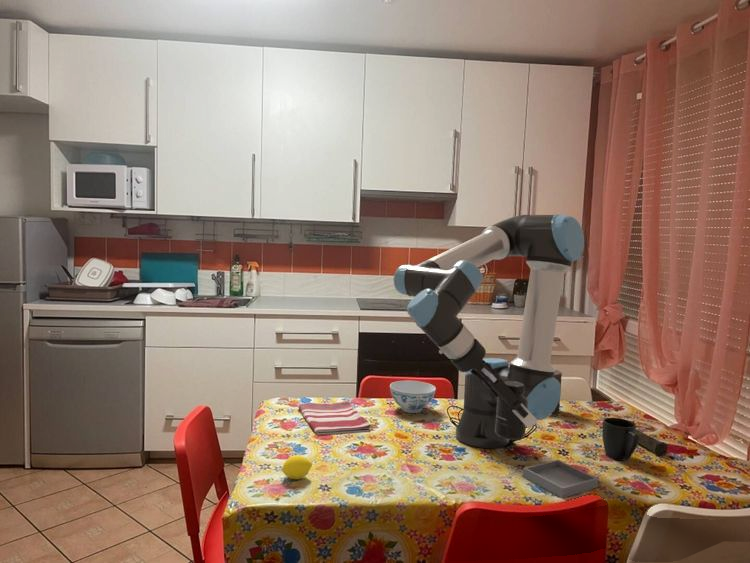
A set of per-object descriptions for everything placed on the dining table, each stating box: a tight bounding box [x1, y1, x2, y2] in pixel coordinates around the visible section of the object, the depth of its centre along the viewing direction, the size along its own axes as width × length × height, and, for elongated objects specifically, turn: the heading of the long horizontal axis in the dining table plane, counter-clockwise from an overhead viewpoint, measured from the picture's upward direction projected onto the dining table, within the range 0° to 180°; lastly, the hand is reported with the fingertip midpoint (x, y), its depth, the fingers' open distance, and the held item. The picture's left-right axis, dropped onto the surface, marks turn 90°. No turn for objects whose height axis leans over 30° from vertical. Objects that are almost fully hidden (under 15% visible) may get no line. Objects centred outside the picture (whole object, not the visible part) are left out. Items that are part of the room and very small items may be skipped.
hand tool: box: [636, 428, 669, 457], centre depth 166 cm, size 19×4×5 cm, turn 11°
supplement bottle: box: [495, 381, 528, 441], centre depth 130 cm, size 7×7×12 cm
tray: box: [521, 459, 599, 498], centre depth 137 cm, size 12×12×2 cm
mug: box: [601, 417, 639, 461], centre depth 153 cm, size 8×12×10 cm
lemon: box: [281, 454, 313, 480], centre depth 132 cm, size 7×5×5 cm
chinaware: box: [389, 380, 437, 414], centre depth 187 cm, size 15×15×8 cm
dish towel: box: [298, 400, 371, 436], centre depth 174 cm, size 17×23×3 cm
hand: (525, 418), depth 131 cm, fingers closed on supplement bottle, 7 cm apart
